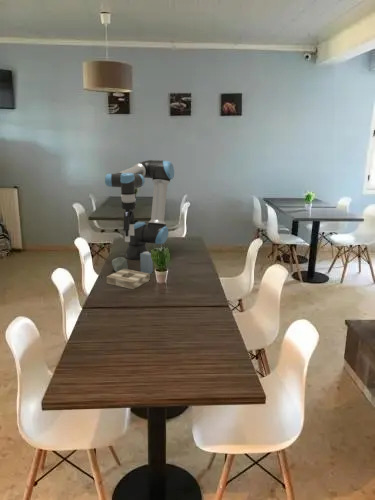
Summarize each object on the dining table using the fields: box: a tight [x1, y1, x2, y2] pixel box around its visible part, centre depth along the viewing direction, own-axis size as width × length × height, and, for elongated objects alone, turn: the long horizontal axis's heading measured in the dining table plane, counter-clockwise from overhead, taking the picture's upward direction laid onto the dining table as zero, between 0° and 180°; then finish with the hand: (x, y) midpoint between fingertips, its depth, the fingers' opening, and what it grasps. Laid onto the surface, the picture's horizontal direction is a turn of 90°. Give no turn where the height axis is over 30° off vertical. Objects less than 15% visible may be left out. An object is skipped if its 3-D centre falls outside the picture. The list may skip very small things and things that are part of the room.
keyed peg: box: [140, 251, 154, 275], centre depth 248 cm, size 4×6×13 cm, turn 61°
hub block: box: [106, 268, 151, 290], centre depth 234 cm, size 16×18×4 cm
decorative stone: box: [111, 256, 129, 273], centre depth 252 cm, size 13×11×10 cm
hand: (129, 238), depth 237 cm, fingers open, 13 cm apart
